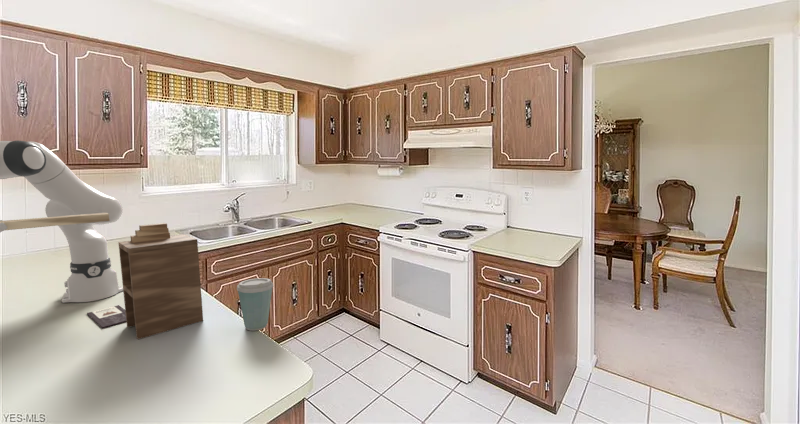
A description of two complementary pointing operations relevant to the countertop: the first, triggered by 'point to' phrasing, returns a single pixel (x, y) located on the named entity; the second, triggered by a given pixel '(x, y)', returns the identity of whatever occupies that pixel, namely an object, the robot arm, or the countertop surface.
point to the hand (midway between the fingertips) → (5, 223)
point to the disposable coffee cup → (255, 302)
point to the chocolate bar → (108, 316)
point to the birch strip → (55, 221)
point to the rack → (160, 280)
